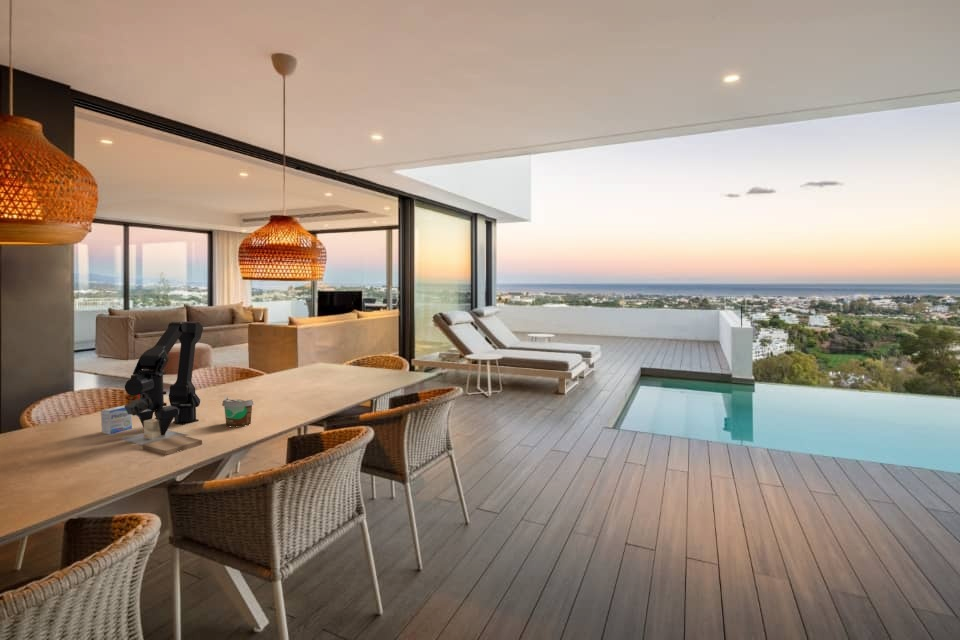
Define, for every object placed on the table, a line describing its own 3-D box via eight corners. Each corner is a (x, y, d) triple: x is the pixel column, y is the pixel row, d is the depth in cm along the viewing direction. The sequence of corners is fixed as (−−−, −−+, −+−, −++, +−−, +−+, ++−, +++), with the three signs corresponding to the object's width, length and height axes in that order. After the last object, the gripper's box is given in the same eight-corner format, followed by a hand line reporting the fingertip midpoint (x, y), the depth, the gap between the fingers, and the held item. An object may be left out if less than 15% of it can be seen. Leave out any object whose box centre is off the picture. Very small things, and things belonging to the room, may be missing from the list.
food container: (214, 426, 183) (214, 400, 183) (226, 422, 189) (226, 397, 189) (242, 429, 181) (242, 403, 180) (253, 424, 186) (253, 399, 186)
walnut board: (179, 439, 168) (179, 434, 168) (202, 444, 163) (201, 440, 163) (143, 449, 157) (142, 444, 157) (165, 455, 152) (165, 450, 152)
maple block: (157, 434, 172) (157, 417, 172) (165, 436, 170) (164, 419, 170) (144, 437, 168) (143, 420, 167) (152, 439, 166) (151, 422, 166)
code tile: (161, 429, 179) (161, 428, 179) (188, 435, 172) (188, 434, 172) (119, 439, 166) (119, 438, 166) (147, 446, 159) (147, 446, 159)
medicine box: (110, 435, 171) (109, 411, 170) (101, 433, 172) (100, 409, 172) (132, 429, 178) (131, 405, 178) (123, 427, 180) (123, 404, 179)
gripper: (112, 390, 165) (113, 435, 166) (145, 397, 157) (146, 444, 158) (146, 384, 175) (147, 427, 176) (179, 390, 167) (180, 434, 168)
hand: (154, 433), depth 169 cm, fingers open, 9 cm apart
